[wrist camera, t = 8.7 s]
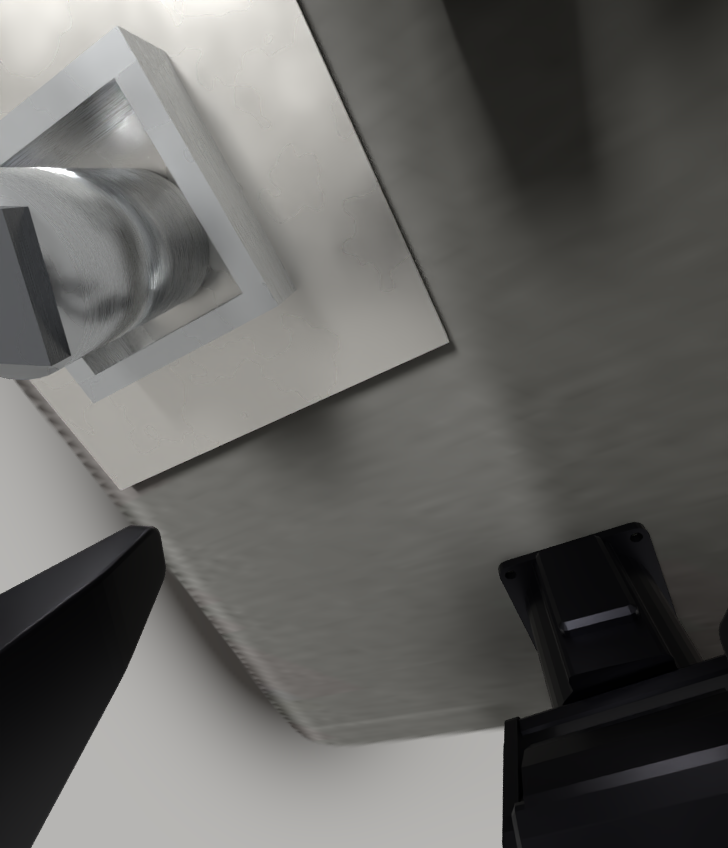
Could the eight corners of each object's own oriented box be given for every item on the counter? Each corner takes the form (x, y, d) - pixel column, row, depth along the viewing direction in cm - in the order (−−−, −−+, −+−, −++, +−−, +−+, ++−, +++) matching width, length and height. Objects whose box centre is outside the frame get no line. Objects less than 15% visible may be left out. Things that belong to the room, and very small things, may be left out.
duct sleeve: (199, 168, 16) (24, 167, 9) (217, 310, 18) (88, 396, 11) (66, 167, 16) (-198, 165, 9) (100, 305, 18) (-94, 385, 11)
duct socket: (448, 337, 18) (454, 365, 15) (127, 483, 22) (85, 526, 20) (202, -211, 12) (139, -330, 10) (-161, 128, 17) (-279, 116, 14)
